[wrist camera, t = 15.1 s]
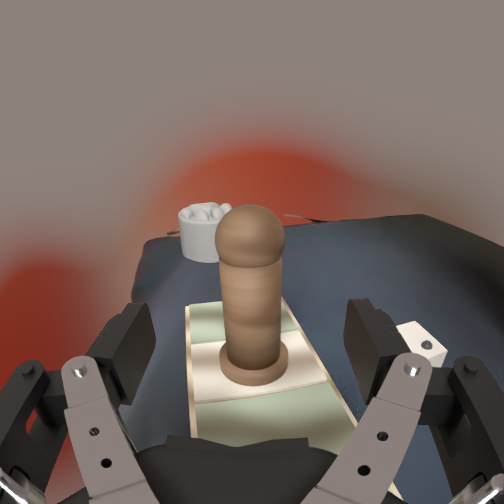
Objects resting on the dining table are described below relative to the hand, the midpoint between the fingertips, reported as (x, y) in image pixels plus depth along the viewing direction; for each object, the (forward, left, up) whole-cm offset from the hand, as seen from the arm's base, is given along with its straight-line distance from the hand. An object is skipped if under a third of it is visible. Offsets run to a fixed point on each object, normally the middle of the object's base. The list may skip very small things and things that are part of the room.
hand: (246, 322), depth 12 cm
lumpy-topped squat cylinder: (-34, -30, -13) cm, 47 cm away
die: (-13, +7, -13) cm, 20 cm away
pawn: (-9, -5, -12) cm, 16 cm away
